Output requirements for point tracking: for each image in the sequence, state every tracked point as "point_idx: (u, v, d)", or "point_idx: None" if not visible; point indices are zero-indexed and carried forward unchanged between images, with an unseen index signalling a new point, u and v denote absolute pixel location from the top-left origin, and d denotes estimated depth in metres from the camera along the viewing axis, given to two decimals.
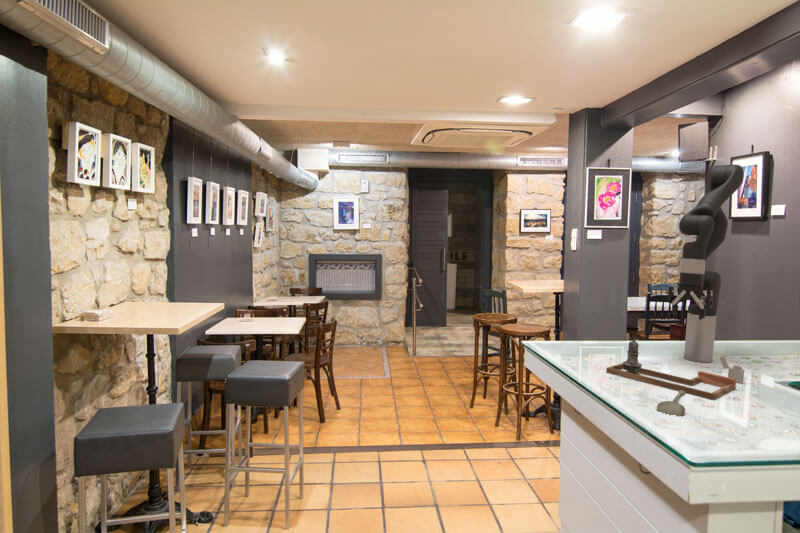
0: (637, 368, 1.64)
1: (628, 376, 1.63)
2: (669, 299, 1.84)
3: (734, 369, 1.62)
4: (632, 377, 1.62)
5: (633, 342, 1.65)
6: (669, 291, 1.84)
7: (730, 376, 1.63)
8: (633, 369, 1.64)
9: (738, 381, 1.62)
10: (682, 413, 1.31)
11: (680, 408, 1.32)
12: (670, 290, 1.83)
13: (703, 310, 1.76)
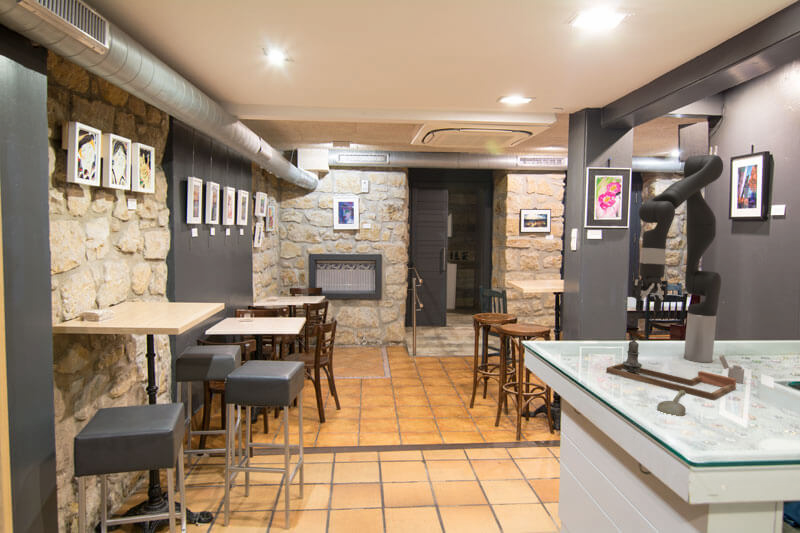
0: (637, 368, 1.64)
1: (628, 376, 1.63)
2: (639, 294, 1.63)
3: (734, 369, 1.62)
4: (632, 377, 1.62)
5: (633, 342, 1.65)
6: (640, 285, 1.63)
7: (730, 376, 1.63)
8: (633, 369, 1.64)
9: (738, 381, 1.62)
10: (682, 413, 1.31)
11: (680, 408, 1.32)
12: (640, 284, 1.63)
13: (661, 301, 1.69)
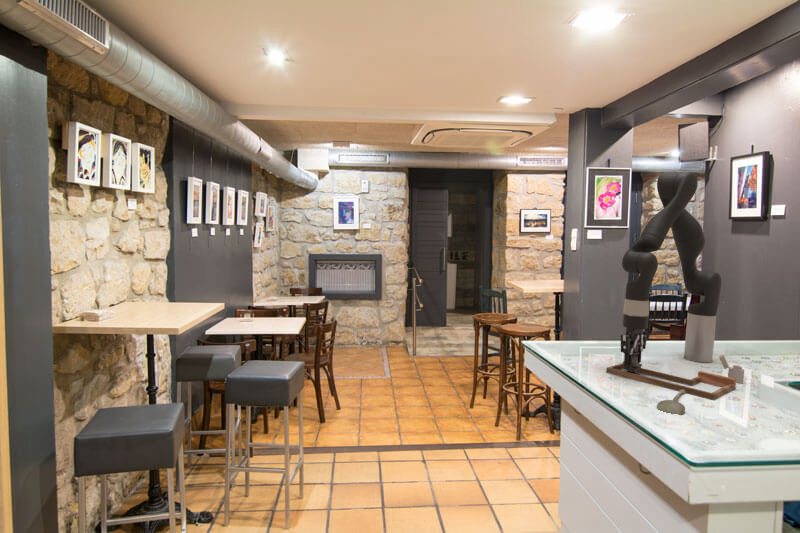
0: (637, 368, 1.64)
1: (628, 376, 1.63)
2: (629, 349, 1.62)
3: (734, 369, 1.62)
4: (632, 377, 1.62)
5: None
6: (628, 341, 1.61)
7: (730, 376, 1.63)
8: (633, 369, 1.64)
9: (738, 381, 1.62)
10: (682, 412, 1.32)
11: (680, 407, 1.33)
12: (629, 340, 1.61)
13: (640, 352, 1.68)
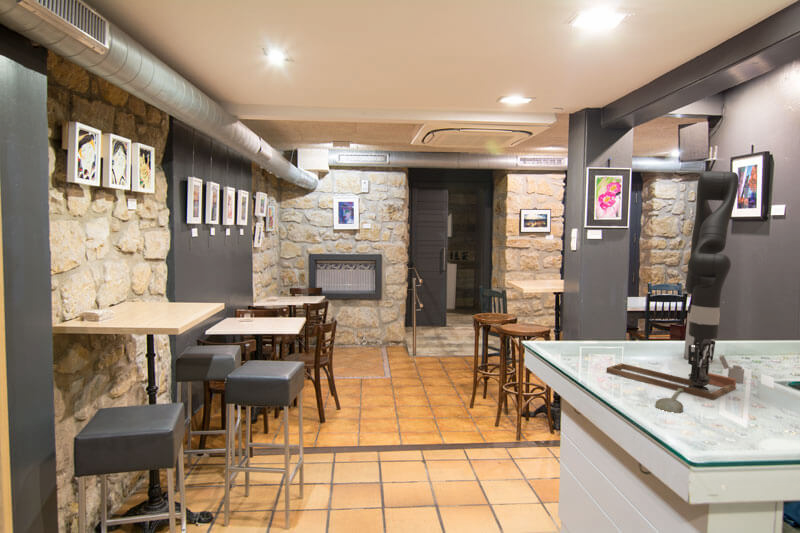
0: (706, 381, 1.49)
1: (628, 376, 1.63)
2: (698, 361, 1.46)
3: (734, 369, 1.62)
4: (632, 377, 1.62)
5: None
6: (698, 352, 1.46)
7: (730, 376, 1.63)
8: (701, 383, 1.49)
9: (738, 381, 1.62)
10: (680, 410, 1.33)
11: (678, 405, 1.34)
12: (698, 351, 1.46)
13: None
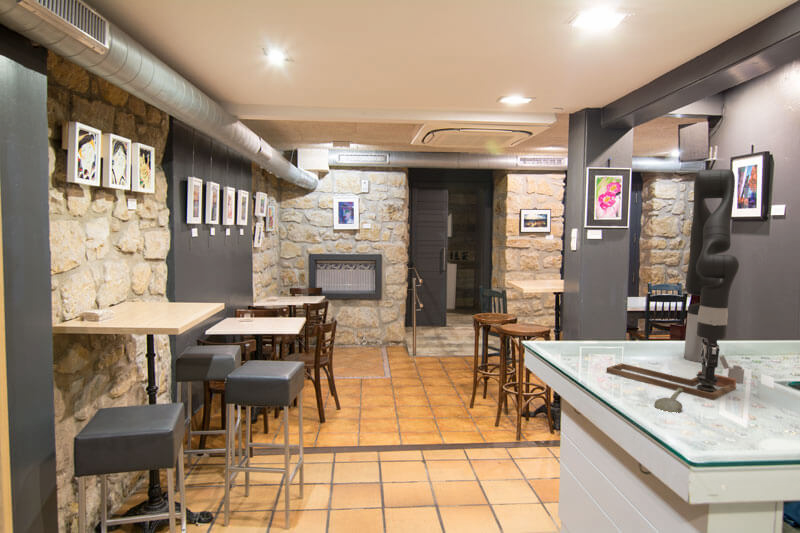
0: (716, 381, 1.50)
1: (628, 376, 1.63)
2: None
3: (734, 369, 1.62)
4: (632, 377, 1.62)
5: None
6: None
7: (730, 376, 1.63)
8: (714, 383, 1.50)
9: (738, 381, 1.62)
10: (679, 410, 1.33)
11: (677, 404, 1.34)
12: None
13: None
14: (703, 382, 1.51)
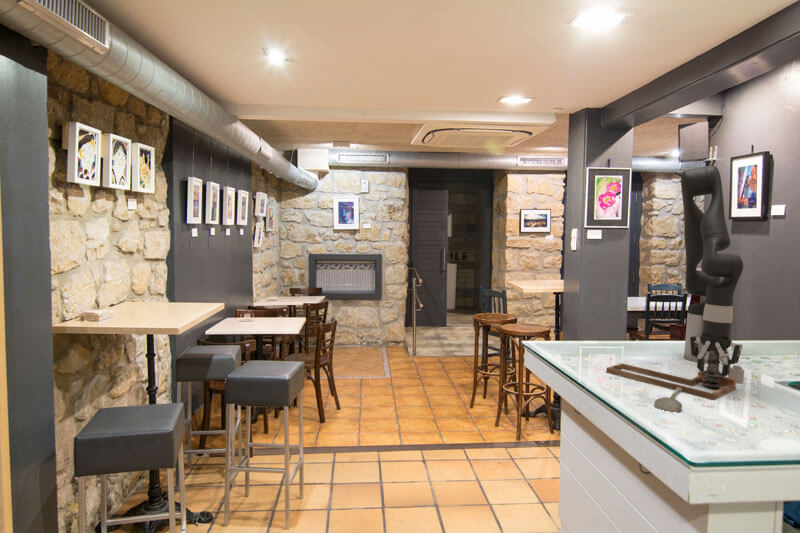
0: None
1: (628, 376, 1.63)
2: None
3: (734, 369, 1.62)
4: (632, 377, 1.62)
5: None
6: None
7: (730, 376, 1.63)
8: None
9: (738, 381, 1.62)
10: (679, 409, 1.33)
11: (677, 404, 1.34)
12: None
13: None
14: (718, 380, 1.53)
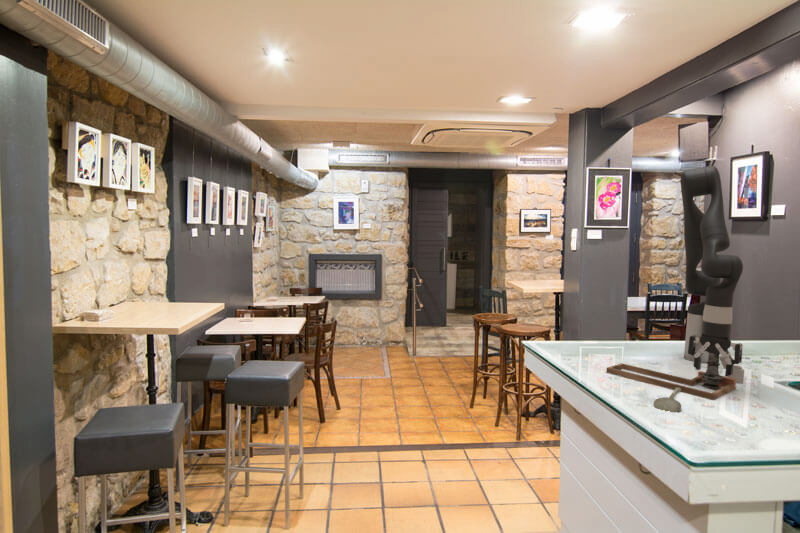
0: None
1: (628, 376, 1.63)
2: None
3: (734, 369, 1.62)
4: (632, 377, 1.62)
5: None
6: None
7: (730, 376, 1.63)
8: None
9: (738, 381, 1.62)
10: (678, 409, 1.33)
11: (676, 404, 1.35)
12: None
13: None
14: (717, 382, 1.54)
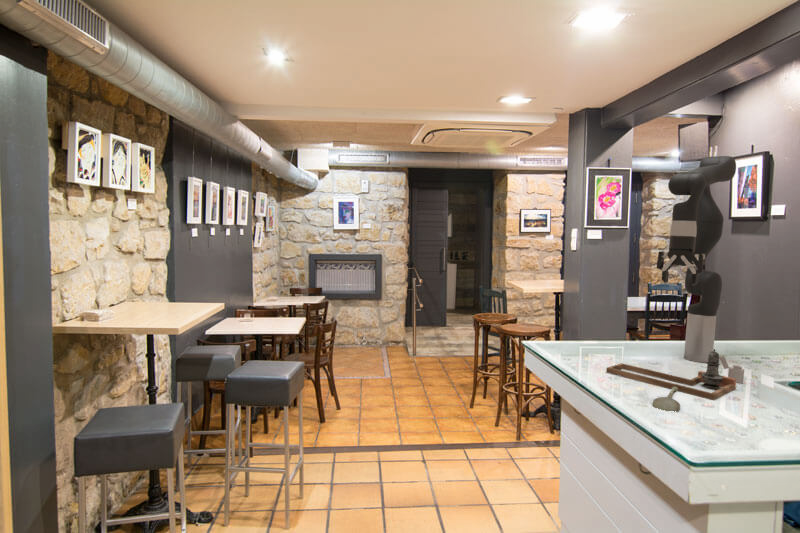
0: None
1: (628, 376, 1.63)
2: None
3: (734, 369, 1.62)
4: (632, 377, 1.62)
5: None
6: None
7: (730, 376, 1.63)
8: None
9: (738, 381, 1.62)
10: (677, 409, 1.34)
11: (675, 404, 1.35)
12: None
13: None
14: (717, 382, 1.54)
